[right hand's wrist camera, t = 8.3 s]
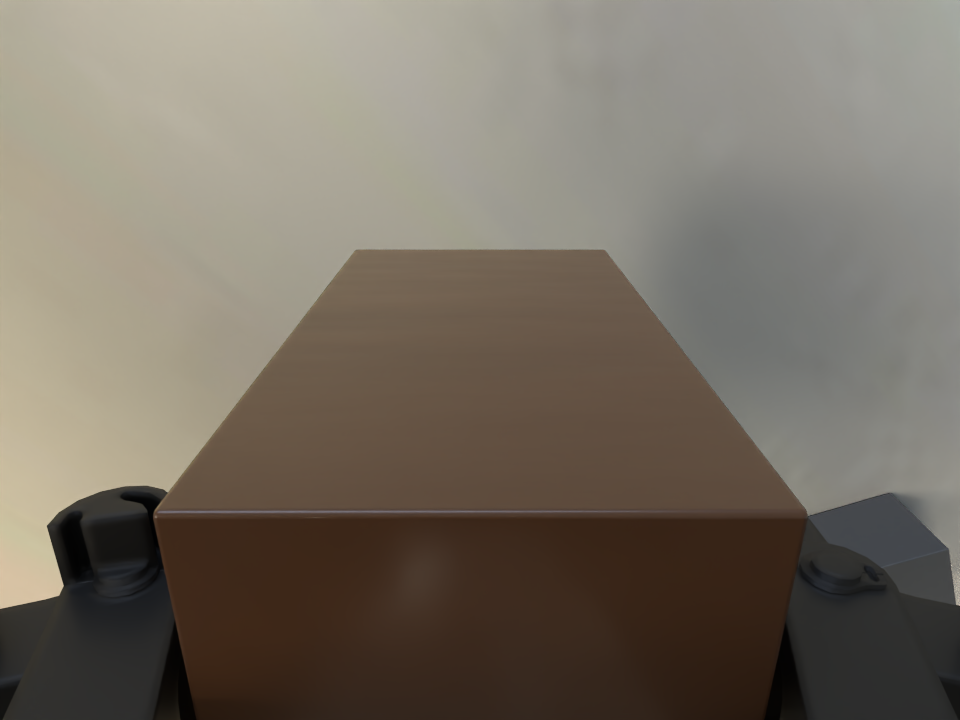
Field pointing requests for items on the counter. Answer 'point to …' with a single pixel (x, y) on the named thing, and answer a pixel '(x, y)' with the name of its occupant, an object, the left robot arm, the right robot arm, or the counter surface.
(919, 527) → the slate block
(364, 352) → the bar
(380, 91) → the counter surface
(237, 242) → the counter surface
